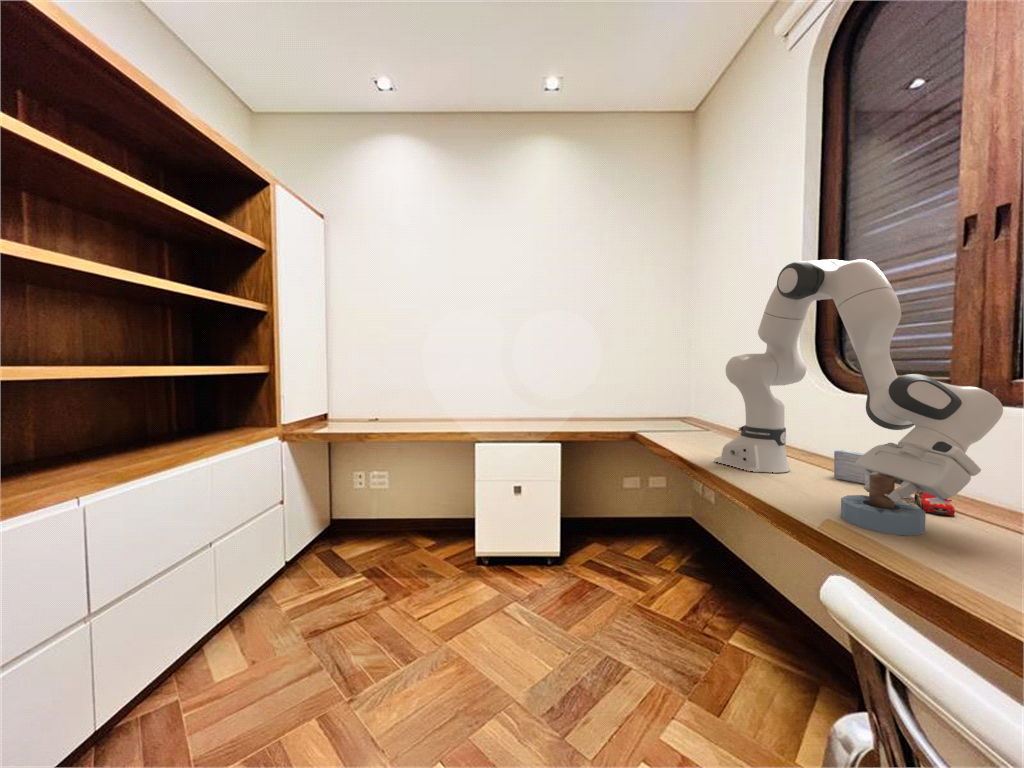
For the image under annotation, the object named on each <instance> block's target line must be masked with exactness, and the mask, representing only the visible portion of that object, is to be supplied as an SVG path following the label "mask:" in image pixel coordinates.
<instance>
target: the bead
mask: <svg viewBox="0 0 1024 768" xmlns="http://www.w3.org/2000/svg"><path fill="white" fill-rule="evenodd" d="M926 513H927V512H925V511H923V510H922V508H920V506H917V505H913V504H911V503H908V502H905V501H902V500H898V501H897V502H894V510H889V509H880V508H876V507H872V506H869V495H863V494H854V495H852V494H850V495H849V494H848V495H847V494H846V495H845V496H842V497H841V498H840V516H841V517H842V519H843V520H844V521H845V522H848V523H850V524H853V525H854V526H856V527H859V528H862V529H866V530H869V531H874V532H878V533H883V534H884V533H885V534H890V535H896V536H897V535H899V536H920V535H922V534H923V533H925V532H926V521H927V520H926V517H927V516H926Z"/></svg>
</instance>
